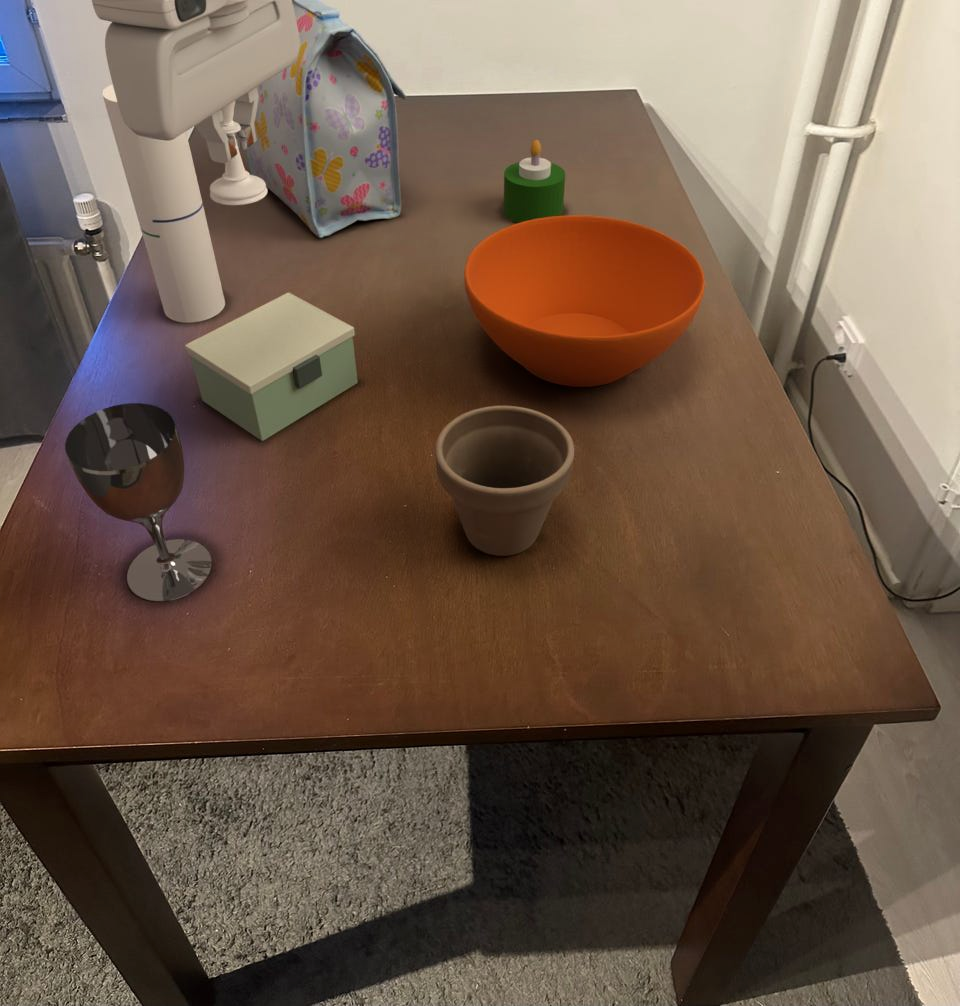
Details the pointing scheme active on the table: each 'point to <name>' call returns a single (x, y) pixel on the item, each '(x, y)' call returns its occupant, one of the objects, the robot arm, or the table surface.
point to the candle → (533, 188)
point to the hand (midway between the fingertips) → (234, 152)
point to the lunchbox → (274, 364)
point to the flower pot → (503, 473)
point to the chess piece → (236, 173)
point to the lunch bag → (329, 127)
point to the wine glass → (140, 491)
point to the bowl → (583, 295)
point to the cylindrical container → (170, 219)
